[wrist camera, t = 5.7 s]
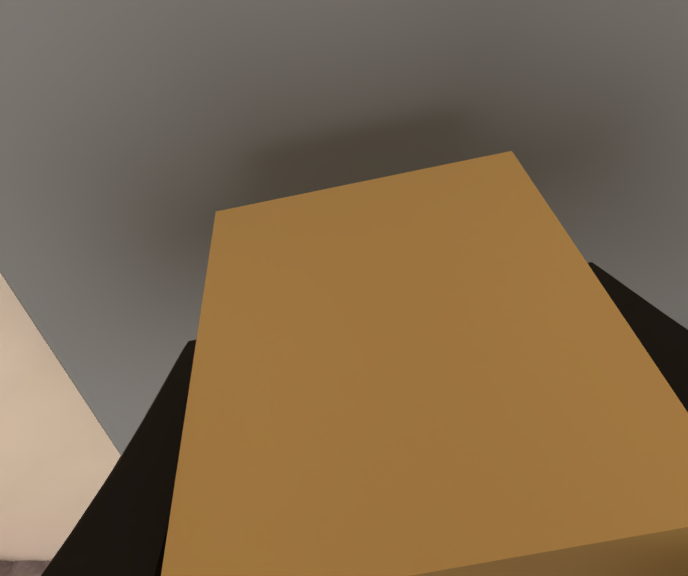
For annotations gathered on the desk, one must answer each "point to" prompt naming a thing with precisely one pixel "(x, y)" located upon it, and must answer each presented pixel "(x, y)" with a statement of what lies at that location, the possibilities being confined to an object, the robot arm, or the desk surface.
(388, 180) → the ochre block
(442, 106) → the slate mat
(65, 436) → the desk surface
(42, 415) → the desk surface
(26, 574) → the stone block
